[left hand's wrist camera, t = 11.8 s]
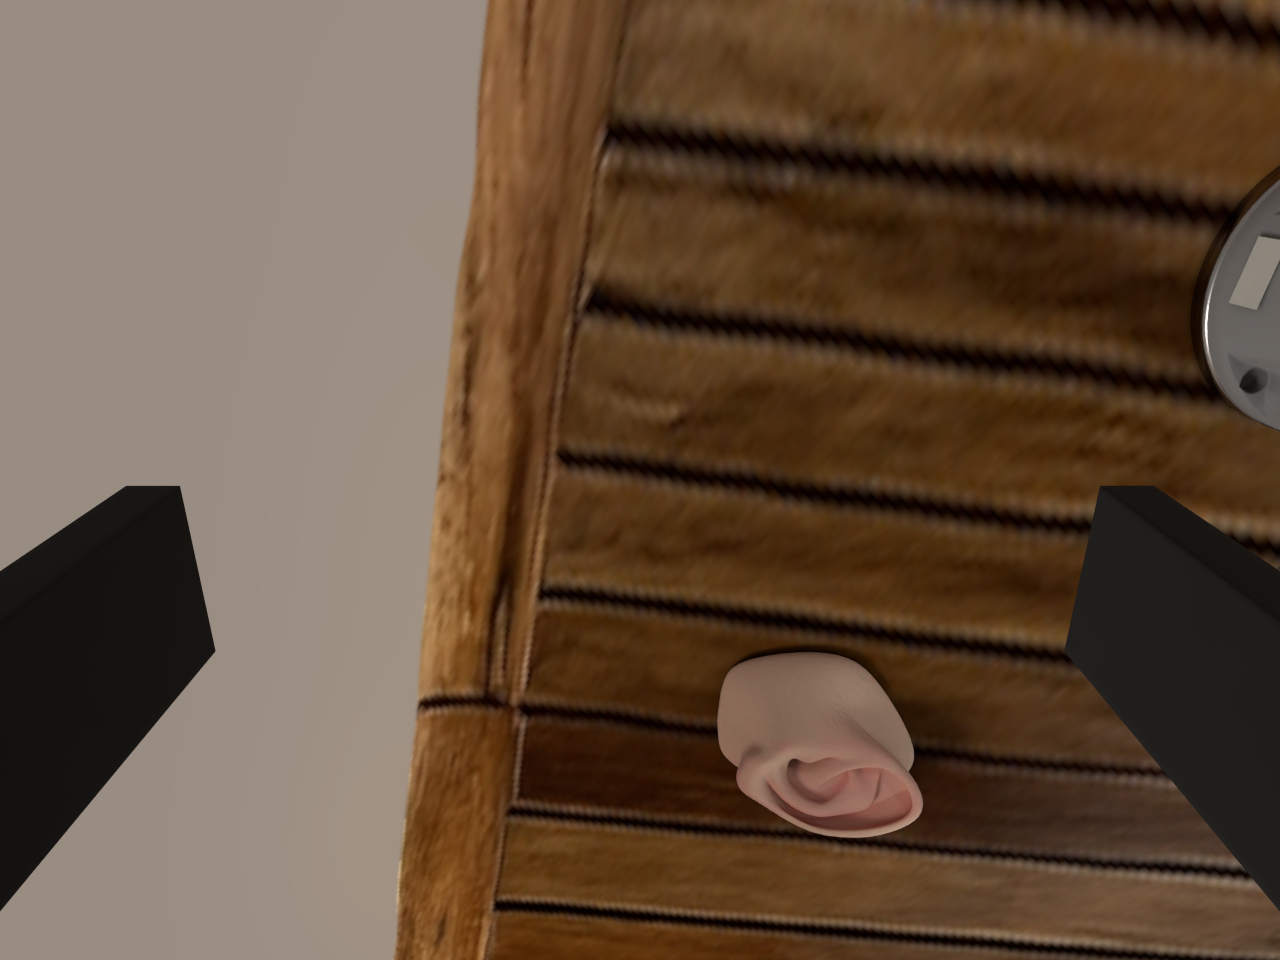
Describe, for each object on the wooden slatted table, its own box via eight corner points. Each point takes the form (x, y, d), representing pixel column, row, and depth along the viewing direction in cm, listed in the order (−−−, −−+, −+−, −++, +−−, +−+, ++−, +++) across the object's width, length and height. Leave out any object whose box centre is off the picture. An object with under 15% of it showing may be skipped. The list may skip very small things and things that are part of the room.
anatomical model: (692, 719, 50) (884, 654, 48) (689, 678, 53) (867, 617, 52) (767, 879, 54) (945, 825, 52) (759, 831, 58) (925, 780, 56)
